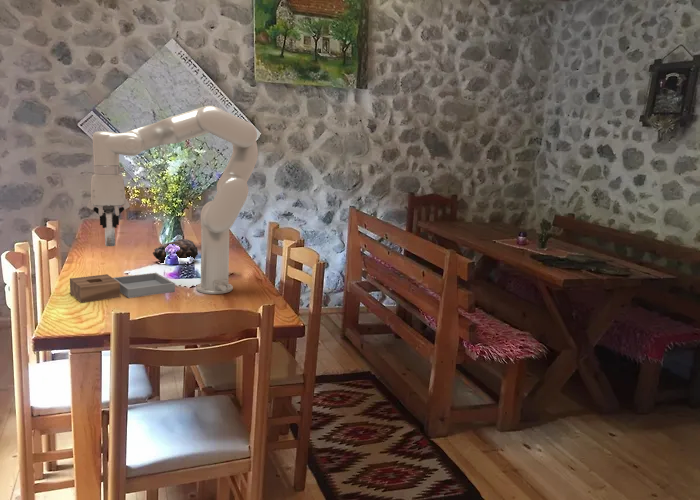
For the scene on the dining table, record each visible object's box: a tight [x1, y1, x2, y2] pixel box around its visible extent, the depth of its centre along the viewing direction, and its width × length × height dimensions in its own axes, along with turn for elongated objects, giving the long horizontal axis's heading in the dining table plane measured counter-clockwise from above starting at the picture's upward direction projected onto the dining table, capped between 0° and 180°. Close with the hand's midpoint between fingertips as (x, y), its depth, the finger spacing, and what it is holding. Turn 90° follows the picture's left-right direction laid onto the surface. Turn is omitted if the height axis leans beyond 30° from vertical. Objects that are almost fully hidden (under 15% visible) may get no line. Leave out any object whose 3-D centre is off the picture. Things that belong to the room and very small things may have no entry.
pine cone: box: [152, 238, 199, 263], centre depth 239 cm, size 10×18×10 cm, turn 118°
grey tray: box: [112, 272, 176, 299], centre depth 202 cm, size 16×16×3 cm
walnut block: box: [69, 273, 121, 304], centre depth 192 cm, size 12×12×5 cm
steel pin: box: [103, 205, 116, 247], centre depth 191 cm, size 4×4×14 cm
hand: (109, 226), depth 191 cm, fingers closed on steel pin, 3 cm apart
